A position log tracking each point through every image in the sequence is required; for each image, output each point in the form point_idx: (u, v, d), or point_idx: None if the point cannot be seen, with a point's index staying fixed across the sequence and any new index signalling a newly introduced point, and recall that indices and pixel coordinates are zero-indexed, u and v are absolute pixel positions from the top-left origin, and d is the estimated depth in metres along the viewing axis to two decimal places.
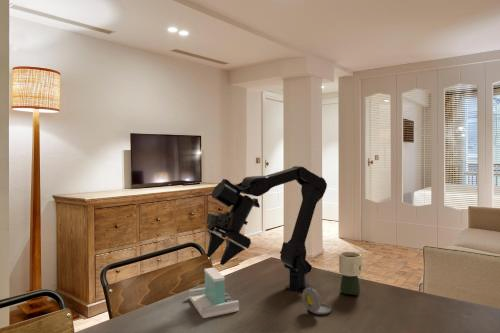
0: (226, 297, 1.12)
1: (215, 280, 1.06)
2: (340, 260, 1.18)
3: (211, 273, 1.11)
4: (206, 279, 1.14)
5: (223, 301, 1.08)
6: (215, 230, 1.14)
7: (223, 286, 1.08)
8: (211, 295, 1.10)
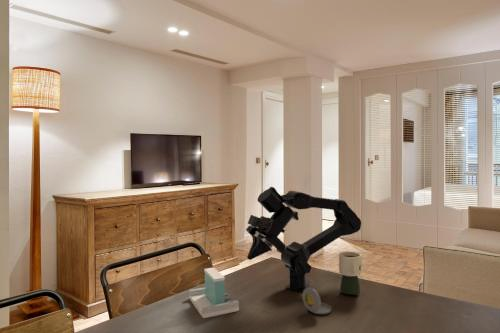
0: (226, 297, 1.12)
1: (215, 280, 1.06)
2: (340, 260, 1.18)
3: (211, 273, 1.11)
4: (206, 279, 1.14)
5: (223, 301, 1.08)
6: (259, 235, 1.19)
7: (223, 286, 1.08)
8: (211, 295, 1.10)
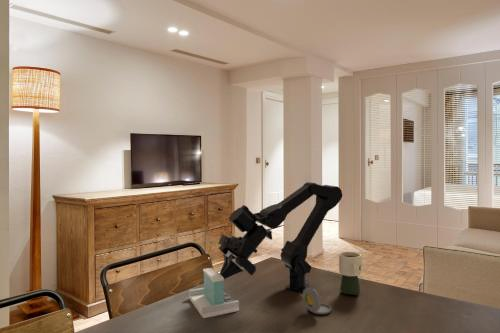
0: (226, 297, 1.12)
1: (214, 280, 1.06)
2: (340, 260, 1.18)
3: (210, 273, 1.11)
4: (205, 279, 1.14)
5: (222, 301, 1.08)
6: (231, 255, 1.15)
7: (222, 286, 1.07)
8: (209, 296, 1.10)
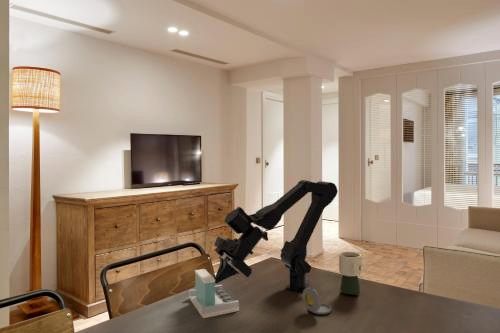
0: (226, 297, 1.12)
1: (205, 282, 1.05)
2: (340, 260, 1.18)
3: (201, 275, 1.10)
4: (196, 280, 1.13)
5: (213, 303, 1.07)
6: (226, 257, 1.14)
7: (213, 288, 1.06)
8: (201, 297, 1.09)
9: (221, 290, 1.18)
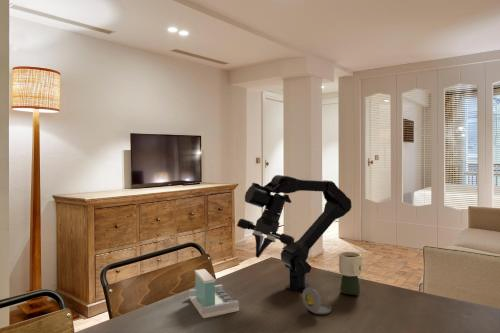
0: (226, 297, 1.12)
1: (205, 282, 1.05)
2: (340, 260, 1.18)
3: (201, 275, 1.10)
4: (196, 280, 1.13)
5: (213, 303, 1.07)
6: (261, 232, 1.17)
7: (213, 288, 1.06)
8: (201, 297, 1.09)
9: (221, 290, 1.18)
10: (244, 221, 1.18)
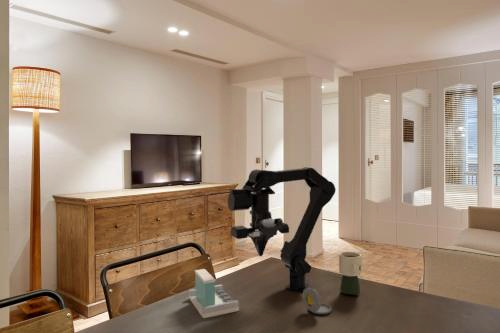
0: (226, 297, 1.12)
1: (205, 282, 1.05)
2: (340, 260, 1.18)
3: (201, 275, 1.10)
4: (196, 280, 1.13)
5: (213, 303, 1.07)
6: None
7: (213, 288, 1.06)
8: (201, 297, 1.09)
9: (221, 290, 1.18)
10: (242, 230, 1.12)
